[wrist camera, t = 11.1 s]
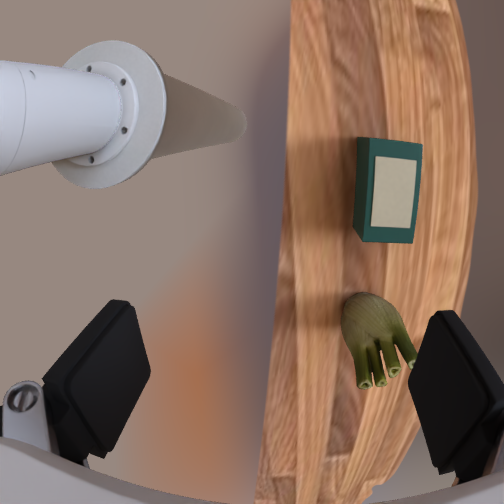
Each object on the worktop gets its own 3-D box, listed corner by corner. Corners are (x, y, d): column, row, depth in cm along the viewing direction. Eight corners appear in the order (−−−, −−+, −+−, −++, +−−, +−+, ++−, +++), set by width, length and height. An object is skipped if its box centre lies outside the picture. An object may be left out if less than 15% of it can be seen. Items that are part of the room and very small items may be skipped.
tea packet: (357, 136, 26) (369, 137, 22) (404, 141, 26) (423, 144, 22) (352, 226, 30) (362, 242, 26) (397, 228, 29) (413, 244, 25)
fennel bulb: (390, 287, 32) (426, 356, 21) (383, 323, 34) (411, 396, 22) (340, 287, 32) (360, 361, 21) (336, 324, 34) (350, 401, 23)
